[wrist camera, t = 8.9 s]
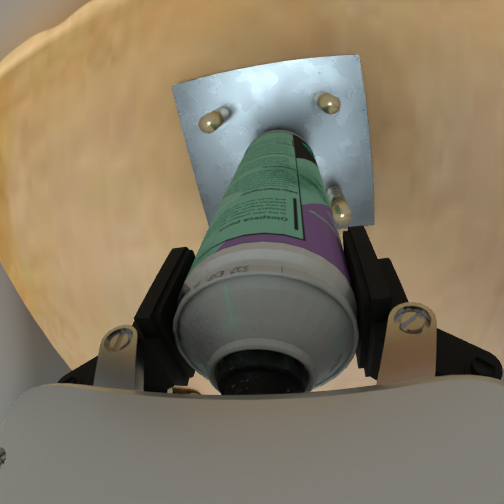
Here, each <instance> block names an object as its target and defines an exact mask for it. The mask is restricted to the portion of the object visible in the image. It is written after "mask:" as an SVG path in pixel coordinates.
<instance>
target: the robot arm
mask: <svg viewBox="0 0 504 504" xmlns="http://www.w3.org/2000/svg"><path fill="white" fill-rule="evenodd" d="M343 246H344V255H345V259H346V263H347V266H348V270H349V274H350V278H351V282H352V286H353V290H354V294H355V299H356V303H357V326H358V331H359V340H358V347H357V350H356V357H357V363H358V368H364V371H365V377H369V376H370V377H372V378H374V379H375V380H377V383H376V385H373V386H365V387H357V388H349V389H340V390H330V391H319V392H306V393H290V394H268V395H198V394H176V393H173V391H172V387H173V386H174V385H178V386H187V385H188V381H189V378H192V377H193V376H194V373H195V370H194V369H193V368H192V367H191V366H190V365H189V364H188V363H187V362H186V360H185V359H184V358H183V356H182V355H181V354H180V352H179V350H178V348H177V346H176V343H175V340H174V335H173V321H174V317H175V314H176V312H177V302H178V297H179V295H180V292H181V290H182V287H183V285H184V282H185V280H186V278H187V275H188V273H189V271H190V269H191V266H192V264H193V262H194V260H195V255H194V252H193V251H192V250H189V249H188V248H187V247H181V248H174V249H172V250H171V252H170V253H169V255H168V257H167V259H166V260H165V262H164V264H163V266H162V267H161V269H160V271H159V273H158V274H157V276H156V278H155V280H154V282H153V283H152V285H151V287H150V289H149V291H148V293H147V294H146V296H145V298H144V300H143V302H142V304H141V306H140V307H139V309H138V311H137V313H136V315H135V317H134V320H135V321H134V323H133V325H132V326H131V325H122V326H118V327H115V328H114V329H112V330H110V331H109V332H108V333H107V334H106V335H105V336H104V337H103V339H102V341H101V344H100V348H99V354H98V356H96V357H95V358H93V359H91V360H90V361H88V362H86V363H85V364H83V365H81V366H80V367H78V368H76V369H75V370H73V371H71V372H70V373H68V374H66V375H65V376H63V377H62V378H61V379H60V380H59V381H58V383H56V384H46V385H41V386H38V387H34V388H31V389H29V390H27V391H25V392H24V393H23V394H22V395H21V396H20V397H19V398H18V399H17V401H16V402H15V403H14V405H13V406H12V408H11V410H10V411H9V413H8V415H7V416H6V418H5V420H4V422H3V424H2V426H1V428H0V504H504V369H502V365H501V363H500V361H499V360H498V359H497V358H496V356H494V355H493V354H491V353H490V352H488V351H485V350H483V349H481V348H479V347H477V346H475V345H472V344H470V343H468V342H466V341H464V340H462V339H459V338H457V337H455V336H453V335H451V334H449V333H447V332H444V331H442V330H440V329H438V328H437V321H436V316H435V314H434V313H433V311H432V310H431V309H430V308H428V307H427V306H425V305H423V304H420V303H415V302H408V299H407V297H406V295H405V292H404V290H403V287H402V285H401V283H400V280H399V278H398V276H397V274H396V271H395V269H394V267H393V265H392V262H391V260H390V259H389V258H383V259H377V256H376V254H375V251H374V249H373V247H372V244H371V242H370V240H369V237H368V235H367V233H366V230H365V228H364V226H363V225H361V226H352V227H348V231H343Z"/></svg>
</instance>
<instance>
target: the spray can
mask: <svg viewBox="0 0 504 504" xmlns="http://www.w3.org/2000/svg"><path fill="white" fill-rule="evenodd" d="M173 335H174V340H175V343H176V346H177V348H178V350H179V352H180V354H181V355H182V356H183V358H184V359H185V360H186V362H187V363H188V364H189V365H190V366H191V367H192V368H193V369H194V370H196V371H197V372H198V373H199V374H200V375H202V376H203V377H205V378H207V379H208V380H210V382H211V384H212V385H213V386H214V387H215V389H217V390H218V391H219V392H220V393H221V394H222V395H268V394H290V393H306V392H311V390H312V389H315V388H317V387H319V386H322V385H324V384H326V383H327V382H329V381H330V380H332V379H334V378H335V377H337V376H338V375H339V374H340V373H341V372H342V371H343V370H344V369H345V368H346V367H347V366H348V365H349V363H350V362H351V360H352V359H353V357H354V355H355V352H356V350H357V347H358V340H359V331H358V326H357V303H356V299H355V294H354V290H353V286H352V282H351V278H350V274H349V270H348V266H347V263H346V259H345V255H344V251H343V248H342V244H341V240H340V237H339V233H338V230H337V226H336V223H335V219H334V216H333V213H332V209H331V206H330V203H329V199H328V196H327V193H326V190H325V187H324V183H323V180H322V177H321V174H320V171H319V168H318V165H317V162H316V159H315V156H314V153H313V151H312V149H311V148H310V146H309V145H308V143H307V142H306V141H305V140H304V139H303V138H301V137H300V136H299V135H297V134H295V133H293V132H289V131H285V130H274V131H269V132H266V133H263V134H262V135H260V136H258V137H257V138H256V139H255V140H253V141H252V143H251V144H250V145H249V147H248V148H247V150H246V152H245V154H244V156H243V158H242V160H241V162H240V164H239V166H238V168H237V170H236V172H235V174H234V176H233V178H232V180H231V182H230V184H229V187H228V189H227V191H226V193H225V195H224V197H223V199H222V201H221V203H220V205H219V207H218V210H217V212H216V214H215V216H214V218H213V220H212V222H211V225H210V227H209V229H208V231H207V233H206V235H205V238H204V240H203V242H202V244H201V246H200V249H199V251H198V253H197V255H196V257H195V260H194V262H193V264H192V266H191V269H190V271H189V273H188V275H187V278H186V280H185V282H184V285H183V287H182V290H181V292H180V295H179V297H178V302H177V312H176V314H175V317H174V321H173Z"/></svg>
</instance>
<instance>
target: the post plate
mask: <svg viewBox="0 0 504 504" xmlns="http://www.w3.org/2000/svg"><path fill="white" fill-rule="evenodd" d="M172 90H173V94H174V98H175V102H176V106H177V110H178V114H179V118H180V122H181V126H182V129H183V133H184V137H185V141H186V145H187V149H188V152H189V156H190V160H191V163H192V167H193V171H194V175H195V178H196V182H197V185H198V189H199V193H200V196H201V200H202V203H203V207H204V210H205V214H206V217H207V221H208V224H209V227H210V225H211V222H212V220H213V218H214V216H215V214H216V212H217V210H218V207H219V205H220V203H221V201H222V199H223V197H224V195H225V193H226V191H227V189H228V187H229V184H230V182H231V180H232V178H233V176H234V174H235V172H236V170H237V168H238V166H239V164H240V162H241V160H242V158H243V156H244V154H245V152H246V150H247V148H248V147H249V145H250V144H251V143H252V141H253V140H255V139H256V138H257V137H258V136H260V135H262V134H263V133H266V132H269V131H274V130H285V131H289V132H293V133H295V134H297V135H299V136H300V137H301V138H303V139H304V140H305V141H306V142H307V143H308V145H309V146H310V148H311V149H312V151H313V153H314V156H315V159H316V162H317V165H318V168H319V171H320V174H321V177H322V180H323V183H324V187H325V190H326V193H327V196H328V199H329V203H330V206H331V209H332V213H333V216H334V219H335V223H336V226H337V229H341V228H348V227H352V226H361V225H363V226H368V225H374V193H373V173H372V158H371V145H370V134H369V124H368V115H367V106H366V98H365V91H364V84H363V77H362V71H361V65H360V59H359V55H341V56H327V57H316V58H307V59H298V60H291V61H283V62H277V63H270V64H264V65H258V66H253V67H247V68H242V69H237V70H233V71H228V72H223V73H219V74H215V75H211V76H207V77H203V78H199V79H195V80H191V81H187V82H184V83H180V84H177V85H173V86H172Z"/></svg>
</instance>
